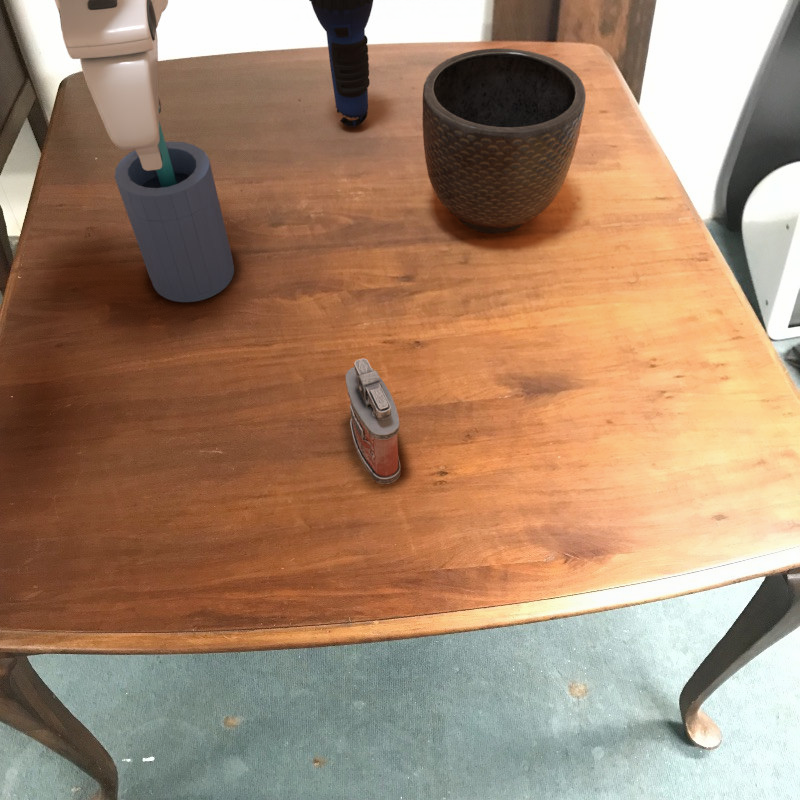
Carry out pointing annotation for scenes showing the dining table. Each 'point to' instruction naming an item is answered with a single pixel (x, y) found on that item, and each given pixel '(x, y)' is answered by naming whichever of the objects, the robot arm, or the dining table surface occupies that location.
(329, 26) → the flashlight
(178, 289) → the jar
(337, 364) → the dining table surface
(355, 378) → the lighter
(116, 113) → the robot arm
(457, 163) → the planter
